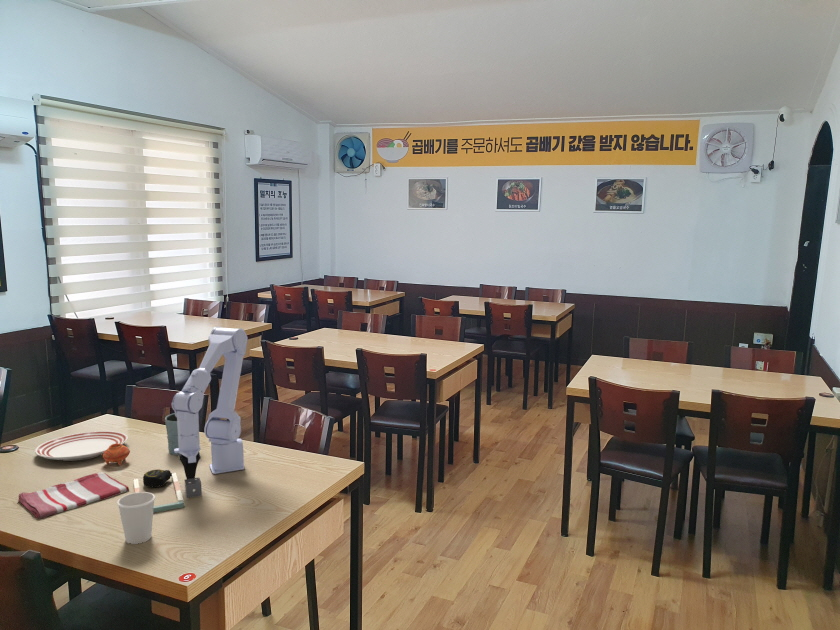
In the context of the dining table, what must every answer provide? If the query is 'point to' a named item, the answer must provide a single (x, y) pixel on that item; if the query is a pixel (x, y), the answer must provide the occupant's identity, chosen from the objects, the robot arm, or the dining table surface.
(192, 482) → the die
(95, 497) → the dish towel
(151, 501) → the dixie cup
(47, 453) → the dinner plate
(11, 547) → the dining table surface
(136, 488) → the track
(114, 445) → the pot
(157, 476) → the tape measure
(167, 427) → the teal cylindrical container
